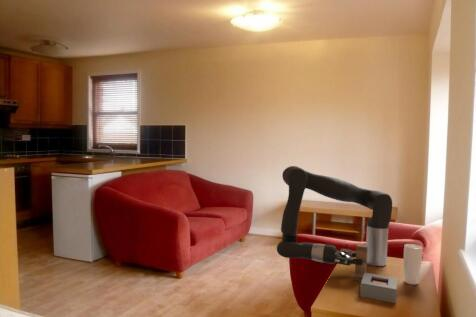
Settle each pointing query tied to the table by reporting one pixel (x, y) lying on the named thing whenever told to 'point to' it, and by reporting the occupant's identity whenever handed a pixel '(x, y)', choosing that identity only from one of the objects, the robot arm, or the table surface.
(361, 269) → the tall brown pillar
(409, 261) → the drinking glass
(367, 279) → the box
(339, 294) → the table surface
